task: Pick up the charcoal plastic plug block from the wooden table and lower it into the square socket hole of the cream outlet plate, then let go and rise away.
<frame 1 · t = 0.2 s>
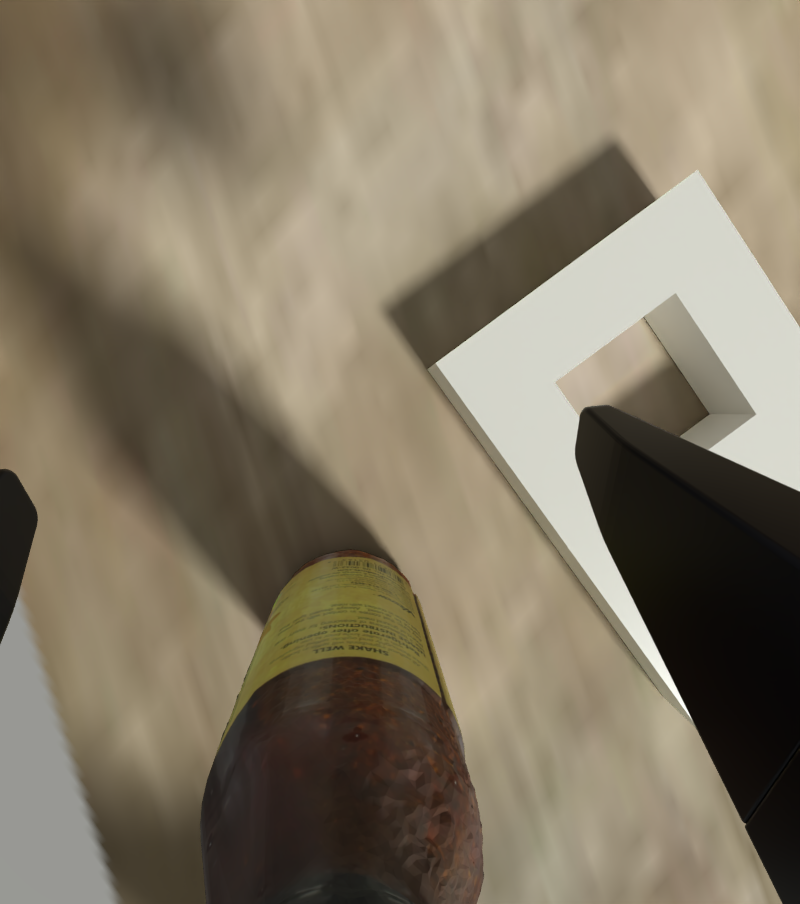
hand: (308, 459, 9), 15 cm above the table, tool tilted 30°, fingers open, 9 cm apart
sauce bottle: (351, 617, 25), on the table
socket plate: (660, 456, 25), on the table
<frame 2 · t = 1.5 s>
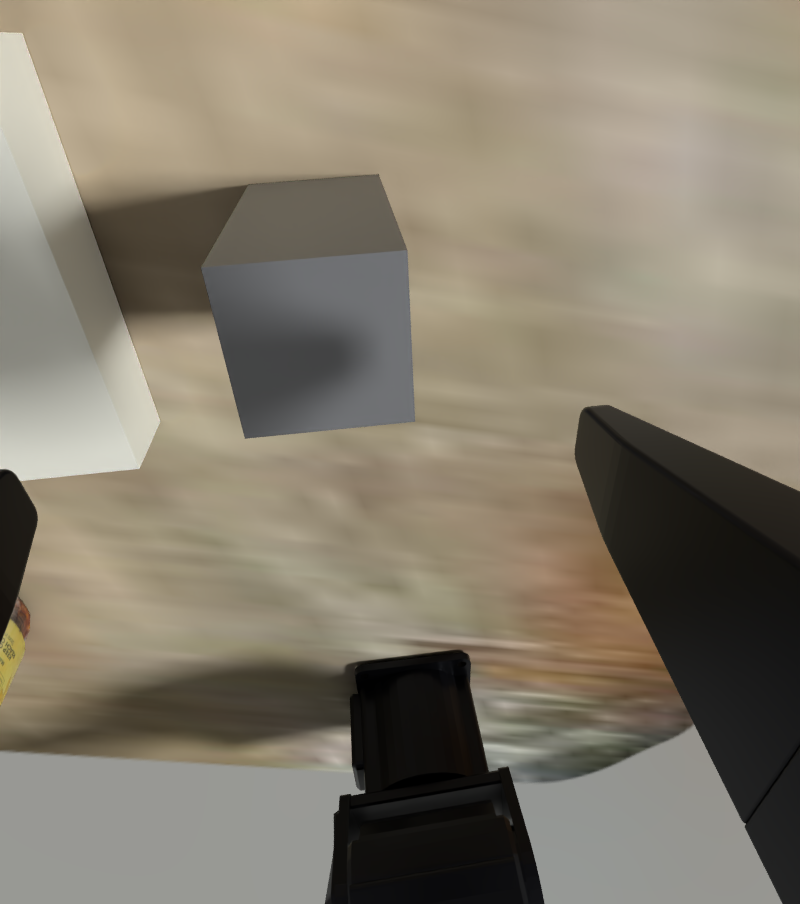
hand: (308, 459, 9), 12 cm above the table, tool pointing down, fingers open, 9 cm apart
plug: (322, 245, 19), on the table
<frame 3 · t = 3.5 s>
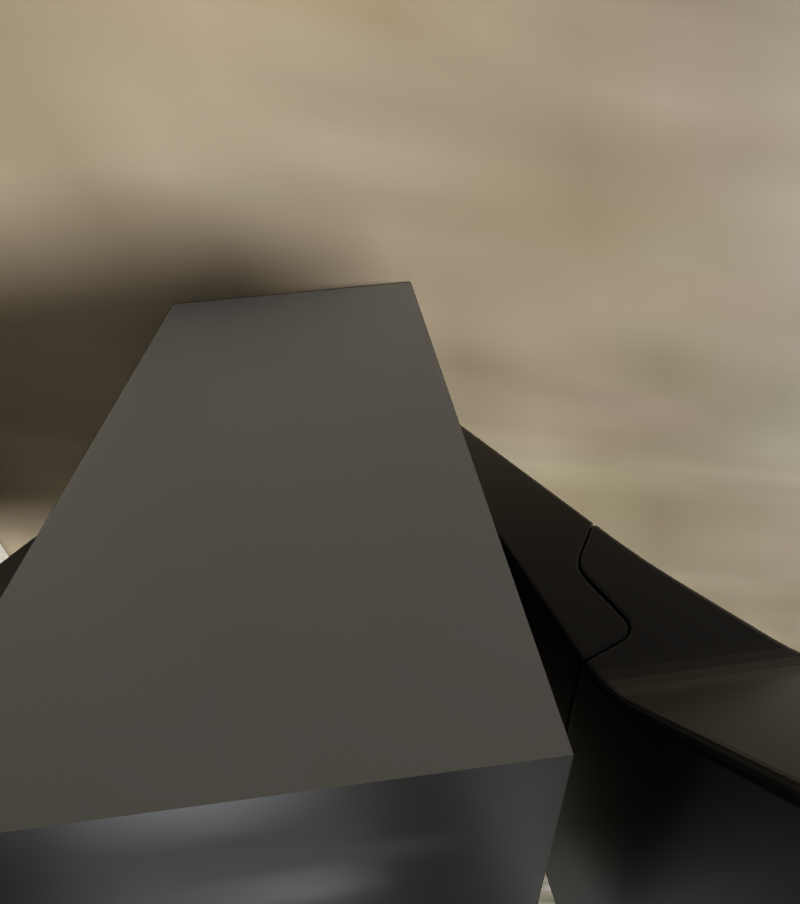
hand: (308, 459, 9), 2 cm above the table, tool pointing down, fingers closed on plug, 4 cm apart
plug: (311, 395, 11), on the table, touching gripper
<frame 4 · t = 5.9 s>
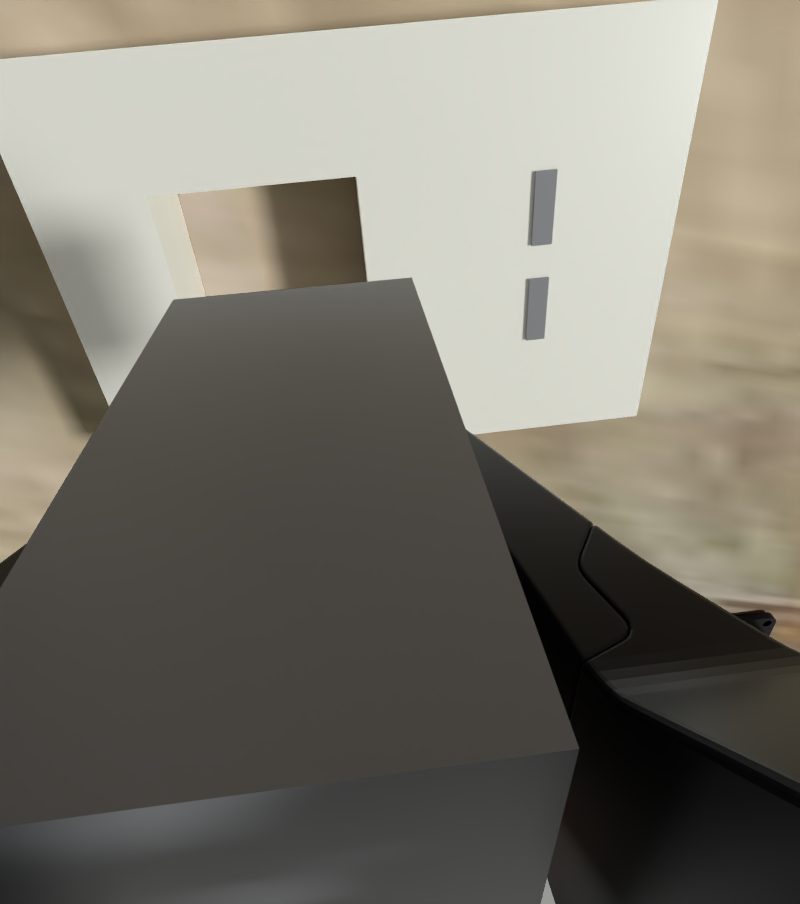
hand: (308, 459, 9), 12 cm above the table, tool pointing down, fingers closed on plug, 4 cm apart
socket plate: (369, 249, 19), on the table
plug: (311, 391, 11), point 10 cm above the table, touching gripper
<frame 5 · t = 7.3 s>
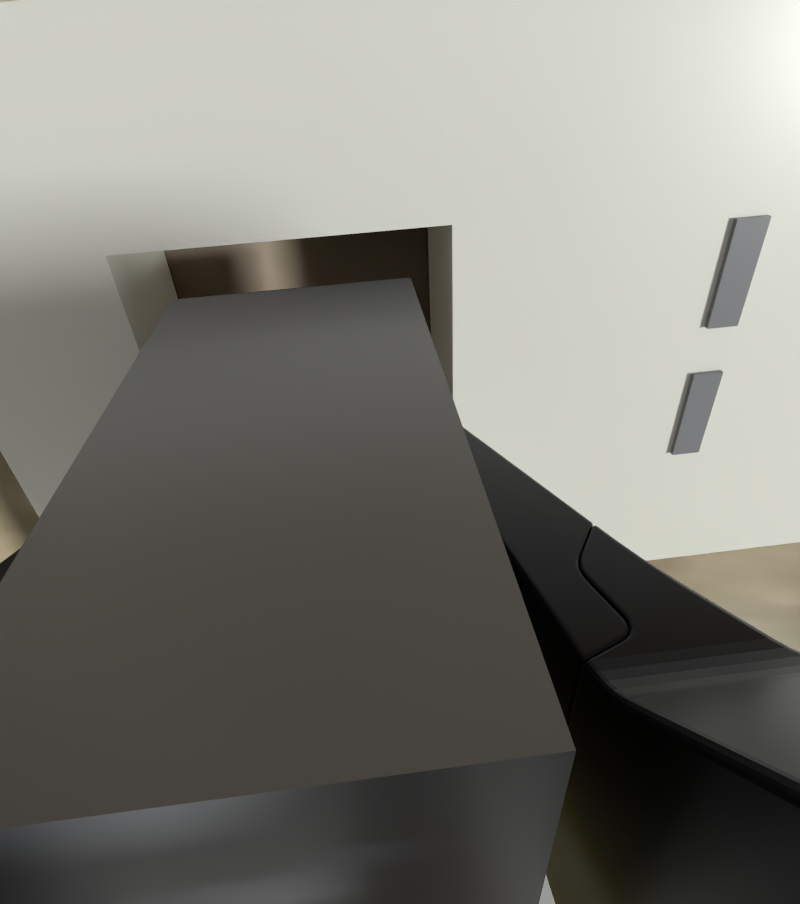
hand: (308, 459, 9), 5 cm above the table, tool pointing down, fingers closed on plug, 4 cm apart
socket plate: (438, 314, 13), on the table
plug: (310, 391, 11), point 3 cm above the table, touching gripper
when the fingers open (3 cm above the table, at t = 8.4 s): plug drops 1 cm, resting in socket plate.
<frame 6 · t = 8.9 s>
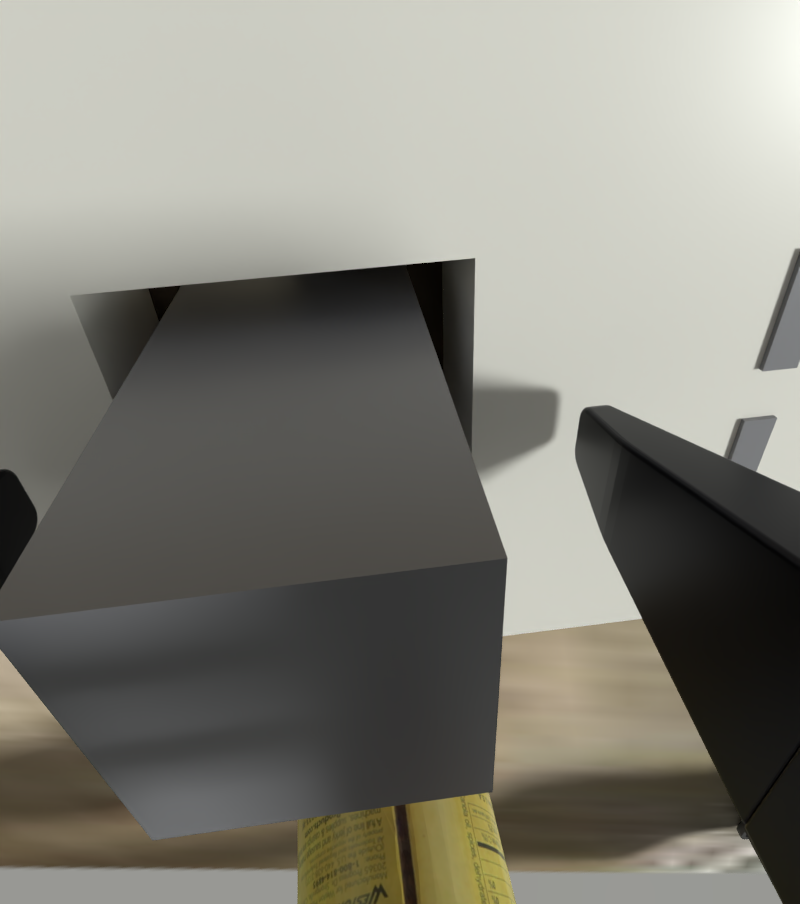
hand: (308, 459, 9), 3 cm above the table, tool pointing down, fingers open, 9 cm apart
sauce bottle: (390, 721, 21), on the table
socket plate: (452, 346, 12), on the table
plug: (312, 357, 12), resting in socket plate
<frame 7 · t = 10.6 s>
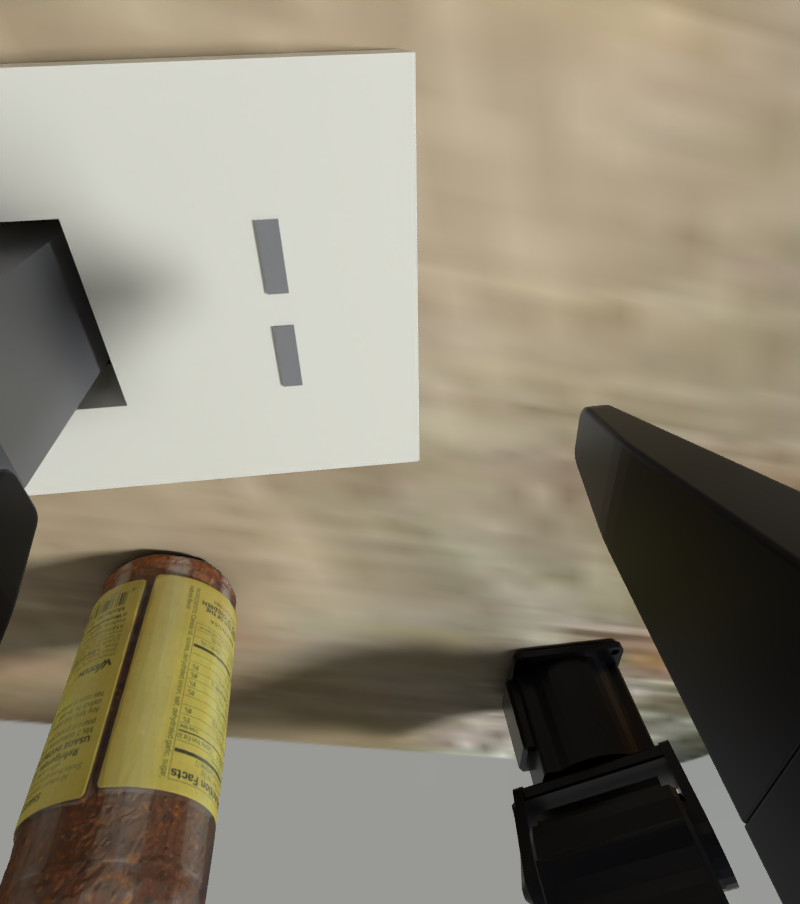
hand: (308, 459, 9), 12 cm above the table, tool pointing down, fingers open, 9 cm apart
sauce bottle: (178, 587, 28), on the table
socket plate: (132, 284, 19), on the table
plug: (37, 287, 18), resting in socket plate
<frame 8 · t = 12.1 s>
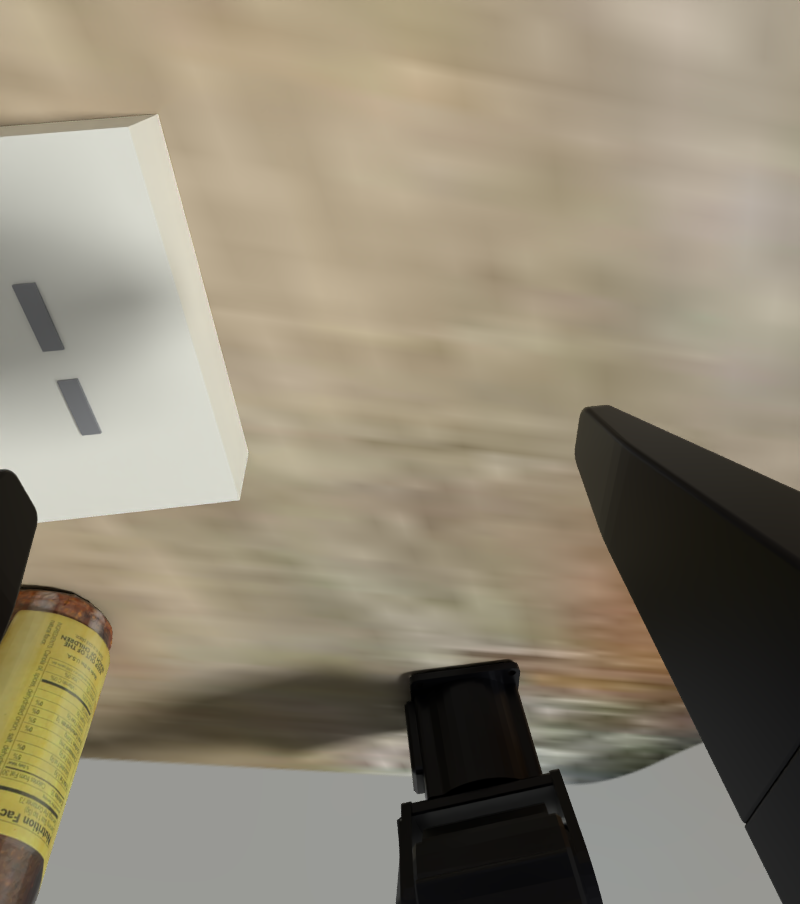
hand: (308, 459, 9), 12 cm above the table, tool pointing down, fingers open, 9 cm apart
sauce bottle: (57, 619, 28), on the table
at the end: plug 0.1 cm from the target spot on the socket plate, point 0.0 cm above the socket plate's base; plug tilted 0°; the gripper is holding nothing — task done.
